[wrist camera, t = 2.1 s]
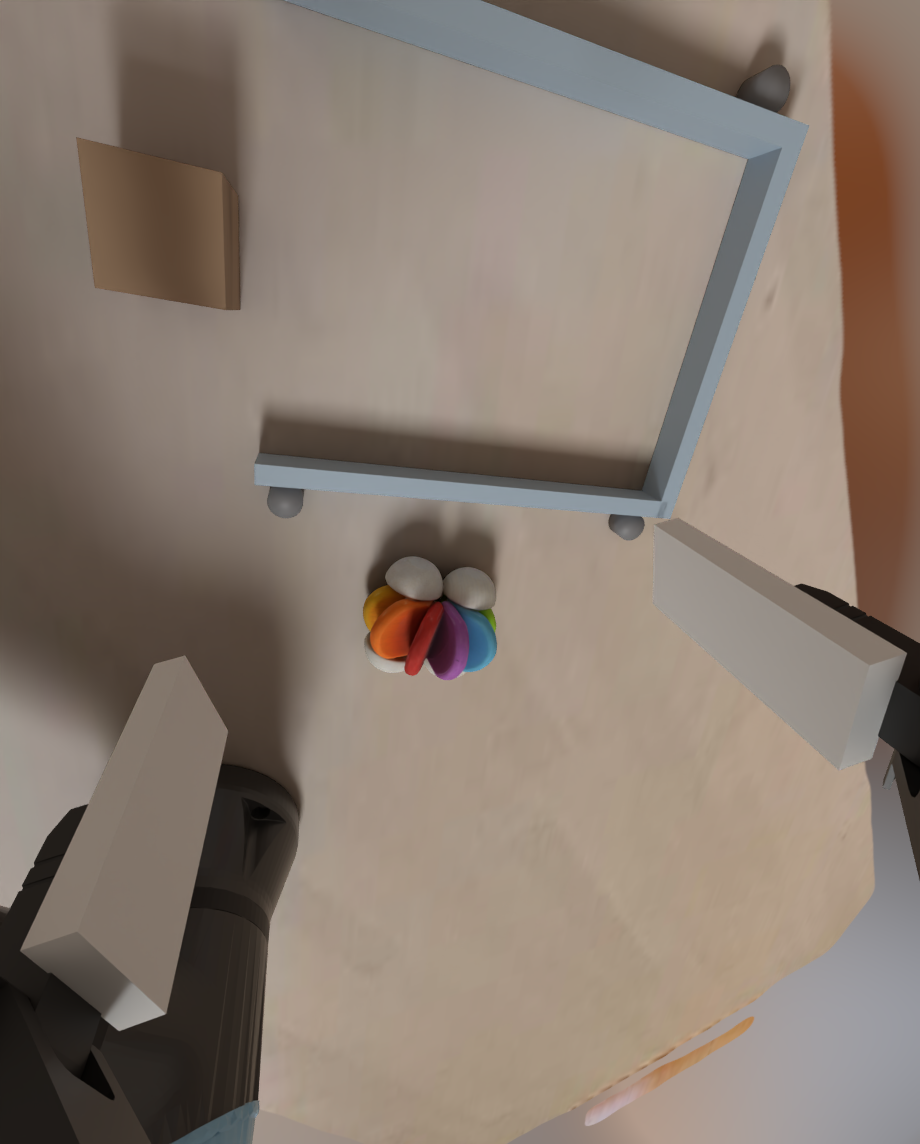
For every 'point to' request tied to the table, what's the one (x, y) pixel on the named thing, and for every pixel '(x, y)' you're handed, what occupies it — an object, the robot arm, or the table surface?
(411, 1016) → the table surface
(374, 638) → the rainbow segmented toy
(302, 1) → the cart frame
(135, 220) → the walnut block
